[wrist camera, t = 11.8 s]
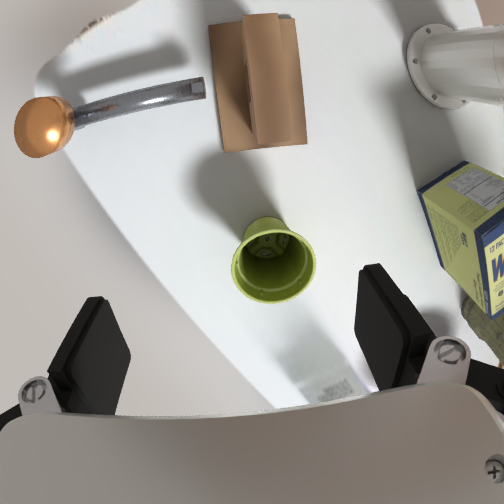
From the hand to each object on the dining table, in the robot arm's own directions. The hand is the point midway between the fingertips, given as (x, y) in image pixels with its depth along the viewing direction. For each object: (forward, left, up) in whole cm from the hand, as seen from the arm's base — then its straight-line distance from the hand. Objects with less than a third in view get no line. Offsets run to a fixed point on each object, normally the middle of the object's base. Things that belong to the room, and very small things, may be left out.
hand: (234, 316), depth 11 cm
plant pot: (-3, +11, -31) cm, 33 cm away
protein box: (-33, +11, -31) cm, 46 cm away
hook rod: (+12, -9, -28) cm, 32 cm away
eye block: (-4, -9, -30) cm, 32 cm away
